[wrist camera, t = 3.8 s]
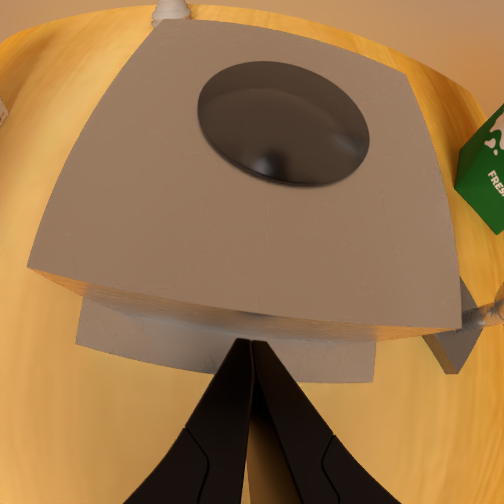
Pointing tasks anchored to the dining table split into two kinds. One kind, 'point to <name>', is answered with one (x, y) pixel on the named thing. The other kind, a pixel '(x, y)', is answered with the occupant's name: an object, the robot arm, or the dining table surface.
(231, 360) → the robot arm
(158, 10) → the rook chess piece
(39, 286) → the dining table surface
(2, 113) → the supplement box
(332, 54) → the cover
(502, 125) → the milk carton
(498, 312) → the rubber stamp
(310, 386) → the dining table surface
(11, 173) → the dining table surface
